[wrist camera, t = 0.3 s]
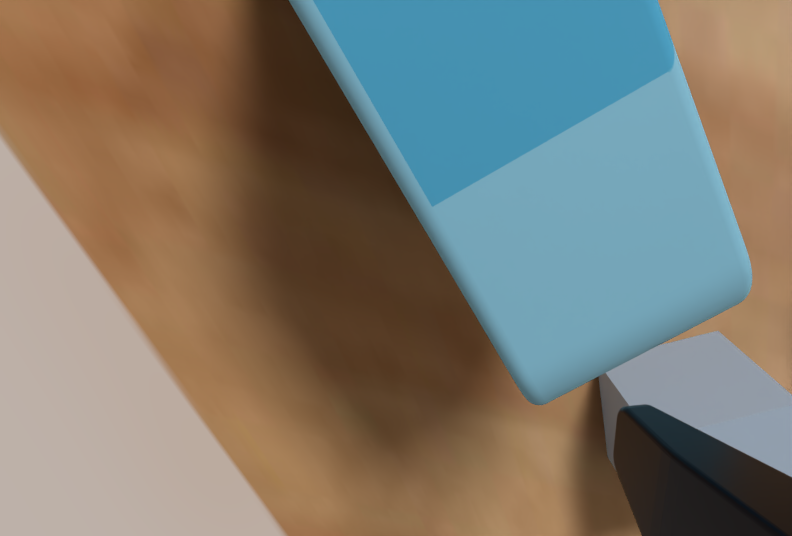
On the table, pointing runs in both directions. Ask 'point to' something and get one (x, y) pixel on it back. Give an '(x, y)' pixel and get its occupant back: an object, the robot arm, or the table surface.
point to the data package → (546, 170)
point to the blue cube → (706, 396)
